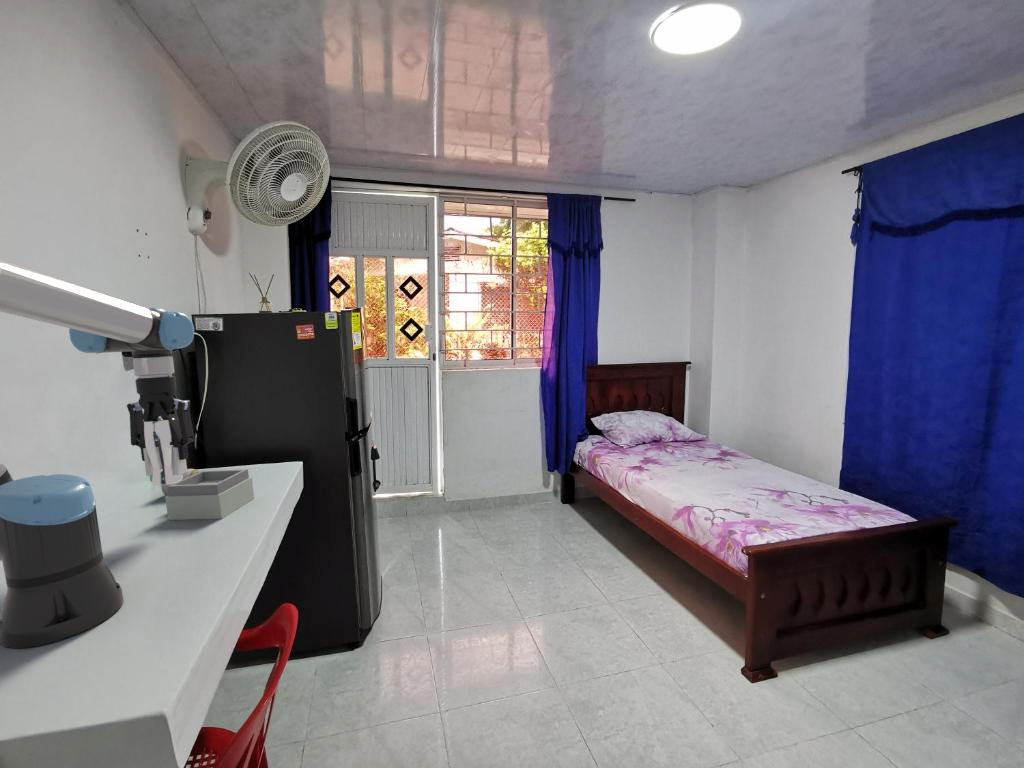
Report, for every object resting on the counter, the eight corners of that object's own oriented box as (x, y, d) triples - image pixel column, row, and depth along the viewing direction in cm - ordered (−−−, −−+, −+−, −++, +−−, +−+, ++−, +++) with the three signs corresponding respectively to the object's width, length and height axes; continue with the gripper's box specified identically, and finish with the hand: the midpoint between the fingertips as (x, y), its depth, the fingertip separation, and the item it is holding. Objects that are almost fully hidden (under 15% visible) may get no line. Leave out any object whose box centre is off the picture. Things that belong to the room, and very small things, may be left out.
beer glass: (181, 483, 115) (174, 419, 114) (145, 488, 112) (137, 423, 111) (188, 476, 121) (181, 415, 120) (154, 480, 119) (147, 418, 117)
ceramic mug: (192, 497, 141) (189, 470, 141) (161, 499, 140) (158, 473, 140) (210, 485, 152) (207, 461, 151) (181, 488, 151) (178, 463, 150)
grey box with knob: (222, 518, 123) (217, 485, 122) (156, 520, 124) (152, 487, 123) (254, 498, 137) (250, 468, 136) (195, 500, 138) (191, 470, 137)
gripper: (206, 373, 118) (217, 468, 120) (128, 376, 119) (140, 470, 121) (184, 375, 110) (195, 477, 112) (101, 379, 111) (114, 479, 114)
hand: (167, 473), depth 117 cm, fingers closed on beer glass, 6 cm apart
